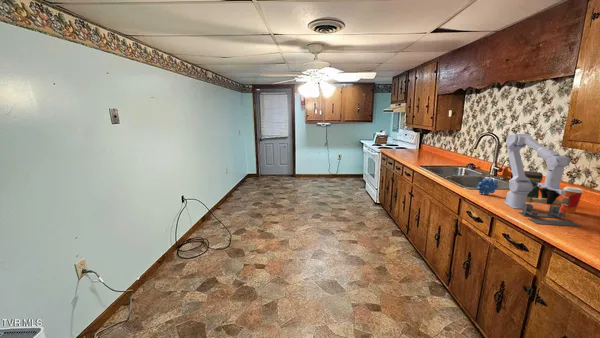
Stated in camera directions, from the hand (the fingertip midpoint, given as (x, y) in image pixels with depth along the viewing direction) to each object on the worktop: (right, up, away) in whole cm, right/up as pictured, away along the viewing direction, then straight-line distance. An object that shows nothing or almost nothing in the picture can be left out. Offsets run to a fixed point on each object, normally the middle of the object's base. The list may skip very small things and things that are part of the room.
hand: (547, 203), depth 131 cm
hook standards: (0, -8, +3) cm, 8 cm away
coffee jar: (+18, -2, +31) cm, 36 cm away
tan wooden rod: (0, 0, 0) cm, 0 cm away
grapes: (-3, 0, +39) cm, 40 cm away
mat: (-1, -10, -4) cm, 10 cm away
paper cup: (+22, -7, +11) cm, 26 cm away
